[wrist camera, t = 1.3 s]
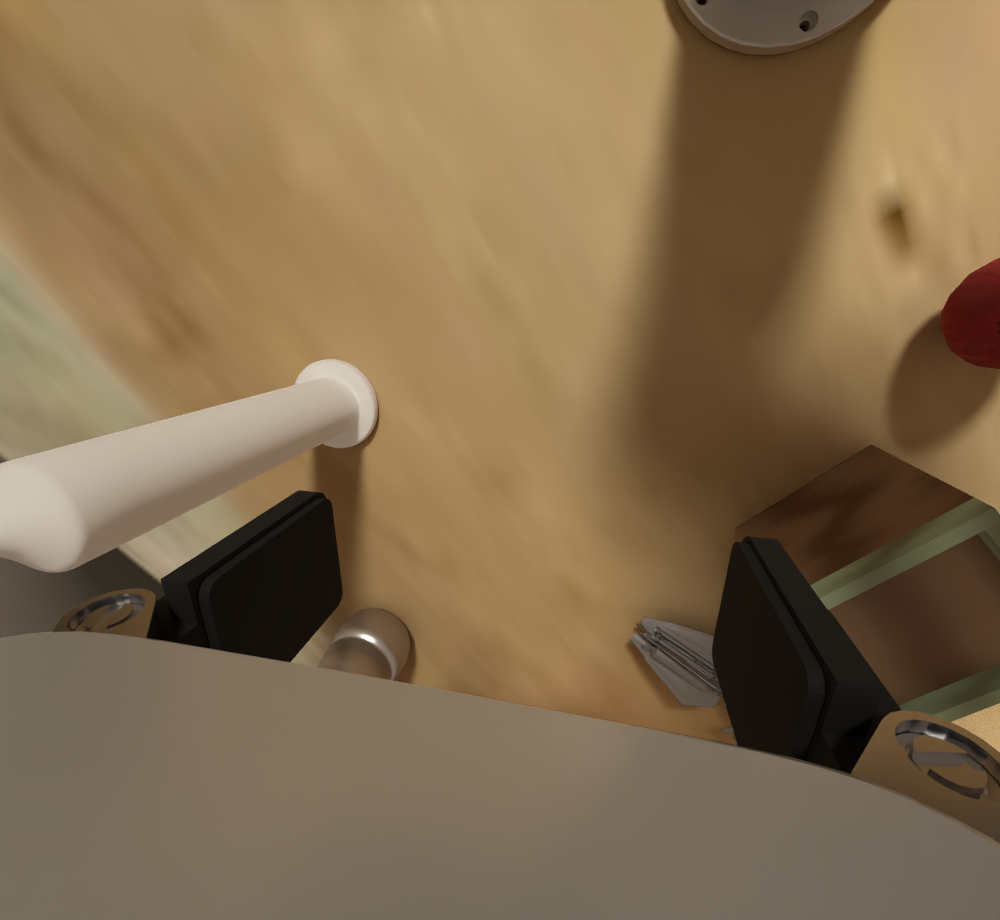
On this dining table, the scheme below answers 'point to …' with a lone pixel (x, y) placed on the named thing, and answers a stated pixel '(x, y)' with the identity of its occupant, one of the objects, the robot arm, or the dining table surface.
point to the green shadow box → (901, 576)
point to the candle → (171, 466)
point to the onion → (975, 317)
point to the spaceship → (681, 662)
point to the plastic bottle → (369, 645)
